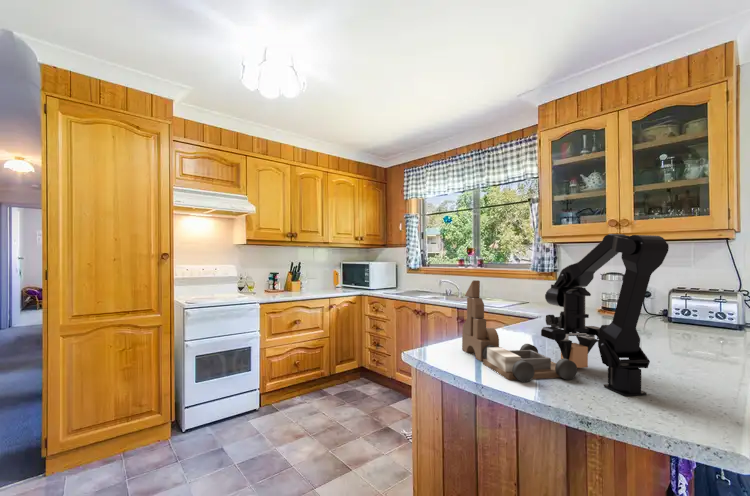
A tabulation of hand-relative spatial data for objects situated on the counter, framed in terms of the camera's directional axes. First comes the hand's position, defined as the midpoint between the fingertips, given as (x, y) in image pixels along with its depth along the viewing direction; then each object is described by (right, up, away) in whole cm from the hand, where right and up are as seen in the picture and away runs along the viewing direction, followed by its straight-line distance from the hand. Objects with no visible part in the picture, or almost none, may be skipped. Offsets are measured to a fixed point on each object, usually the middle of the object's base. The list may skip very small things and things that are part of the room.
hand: (574, 361), depth 105 cm
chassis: (-16, -2, -3) cm, 16 cm away
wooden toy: (-25, -2, +12) cm, 28 cm away
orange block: (0, -1, 0) cm, 1 cm away
